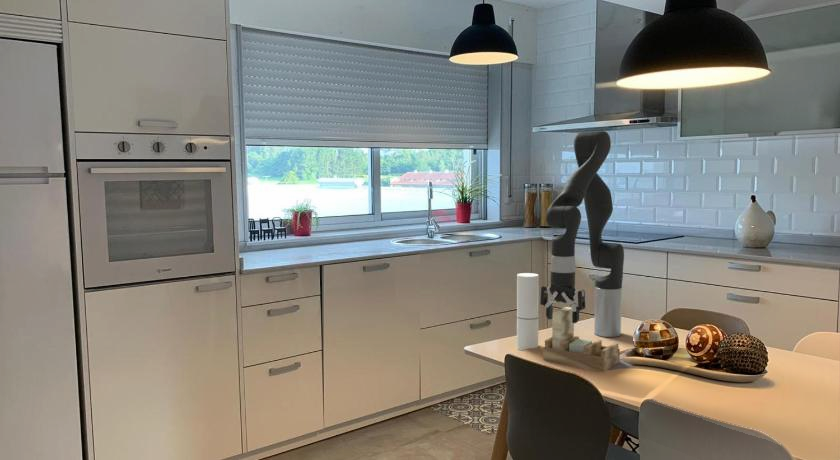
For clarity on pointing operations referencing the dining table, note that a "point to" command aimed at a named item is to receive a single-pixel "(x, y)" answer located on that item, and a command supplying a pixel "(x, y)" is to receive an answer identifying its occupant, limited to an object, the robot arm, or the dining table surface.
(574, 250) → the robot arm
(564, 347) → the rack
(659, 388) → the dining table surface
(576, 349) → the offcut upper
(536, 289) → the cylindrical container
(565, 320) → the beige mottled rectangular block
